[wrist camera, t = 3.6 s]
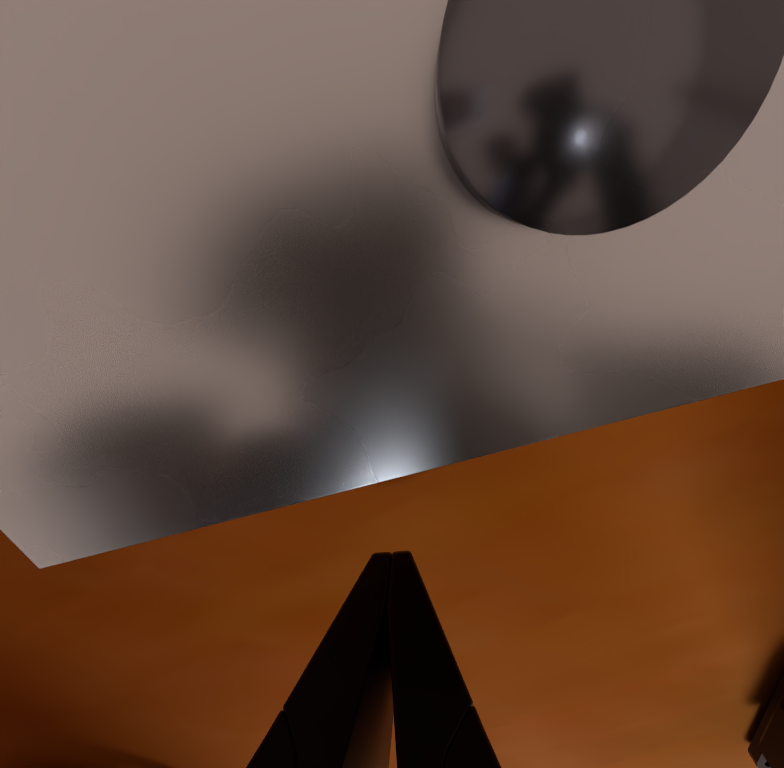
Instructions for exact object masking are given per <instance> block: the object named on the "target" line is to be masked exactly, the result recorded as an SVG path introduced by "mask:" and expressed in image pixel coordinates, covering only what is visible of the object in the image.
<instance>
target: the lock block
mask: <svg viewBox="0 0 784 768" xmlns="http://www.w3.org/2000/svg"><path fill="white" fill-rule="evenodd" d="M782 379H784V0H0V530H1V531H2V532H3V533H4V534H5V535H6V536H7V537H8V538H9V539H10V540H11V541H12V542H13V543H14V544H15V545H16V546H17V547H18V548H19V549H20V550H21V551H22V552H23V553H24V554H25V555H26V556H27V557H28V558H29V559H30V560H31V561H32V562H33V563H34V564H35V565H36V566H37V567H38V568H39V569H40V568H44V567H48V566H52V565H56V564H60V563H64V562H68V561H72V560H76V559H80V558H84V557H87V556H91V555H95V554H99V553H103V552H107V551H111V550H115V549H119V548H123V547H127V546H131V545H135V544H139V543H142V542H146V541H150V540H154V539H158V538H162V537H166V536H170V535H174V534H178V533H182V532H186V531H190V530H193V529H197V528H201V527H205V526H209V525H213V524H217V523H221V522H225V521H229V520H233V519H237V518H241V517H245V516H248V515H252V514H256V513H260V512H264V511H268V510H272V509H276V508H280V507H284V506H288V505H292V504H296V503H299V502H303V501H307V500H311V499H315V498H319V497H323V496H327V495H331V494H335V493H339V492H343V491H347V490H350V489H354V488H358V487H362V486H366V485H370V484H374V483H378V482H382V481H386V480H390V479H394V478H398V477H402V476H405V475H409V474H413V473H417V472H421V471H425V470H429V469H433V468H437V467H441V466H445V465H449V464H453V463H456V462H460V461H464V460H468V459H472V458H476V457H480V456H484V455H488V454H492V453H496V452H500V451H504V450H508V449H511V448H515V447H519V446H523V445H527V444H531V443H535V442H539V441H543V440H547V439H551V438H555V437H559V436H562V435H566V434H570V433H574V432H578V431H582V430H586V429H590V428H594V427H598V426H602V425H606V424H610V423H614V422H617V421H621V420H625V419H629V418H633V417H637V416H641V415H645V414H649V413H653V412H657V411H661V410H665V409H668V408H672V407H676V406H680V405H684V404H688V403H692V402H696V401H700V400H704V399H708V398H712V397H716V396H719V395H723V394H727V393H731V392H735V391H739V390H743V389H747V388H751V387H755V386H759V385H763V384H767V383H771V382H774V381H778V380H782Z"/></svg>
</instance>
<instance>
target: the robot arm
mask: <svg viewBox="0 0 784 768" xmlns="http://www.w3.org/2000/svg"><path fill="white" fill-rule="evenodd" d="M283 709H284V711H283V710H282V711H280V712H279V714H278V716H277V718H276V719H275V721H274V723H273V724H272V726H271V728H270V730H269V731H268V733H267V735H266V736H265V738H264V740H263V741H262V743H261V744H260V746H259V748H258V749H257V751H256V752H255V754H254V756H253V757H252V759H251V761H250V762H249V764H248V765H247V767H246V768H389V757H390V746H391V736H392V725H393V714H394V726H395V741H396V756H397V768H501V766H500V764H499V761H498V759H497V757H496V755H495V752H494V750H493V748H492V746H491V743H490V741H489V739H488V737H487V734H486V732H485V730H484V728H483V725H482V723H481V720H480V718H479V715H478V713H477V711H476V708H475V707H474V706H473V701H472V699H471V697H470V694H469V692H468V689H467V687H466V684H465V682H464V680H463V677H462V675H461V672H460V670H459V668H458V665H457V663H456V660H455V658H454V655H453V653H452V651H451V648H450V646H449V643H448V641H447V638H446V636H445V634H444V631H443V629H442V626H441V624H440V622H439V619H438V617H437V614H436V612H435V609H434V607H433V605H432V602H431V600H430V597H429V595H428V592H427V590H426V588H425V585H424V583H423V580H422V578H421V576H420V573H419V571H418V568H417V566H416V563H415V561H414V559H413V556H412V554H411V552H410V551H398V552H393V554H391V553H390V552H382V553H374V554H373V555H372V556H371V558H370V559H369V561H368V563H367V565H366V566H365V568H364V570H363V571H362V573H361V575H360V576H359V578H358V580H357V582H356V583H355V585H354V587H353V588H352V590H351V592H350V593H349V595H348V597H347V599H346V600H345V602H344V604H343V605H342V607H341V609H340V611H339V612H338V614H337V616H336V617H335V619H334V621H333V622H332V624H331V626H330V628H329V629H328V631H327V633H326V634H325V636H324V638H323V640H322V641H321V643H320V645H319V646H318V648H317V650H316V651H315V653H314V655H313V657H312V658H311V660H310V662H309V663H308V665H307V667H306V669H305V670H304V672H303V674H302V675H301V677H300V679H299V680H298V682H297V684H296V686H295V687H294V689H293V691H292V692H291V694H290V696H289V697H288V699H287V701H286V703H285V704H284V706H283ZM748 752H749V754H750V756H751V757H752V759H753V761H754V762H755V764H756V766H757V767H758V768H784V674H783V676H782V678H781V680H780V682H779V684H778V686H777V688H776V690H775V693H774V695H773V697H772V699H771V701H770V703H769V705H768V707H767V710H766V712H765V714H764V716H763V718H762V720H761V722H760V724H759V726H758V729H757V731H756V733H755V735H754V737H753V739H752V741H751V743H750V746H749V748H748Z"/></svg>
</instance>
